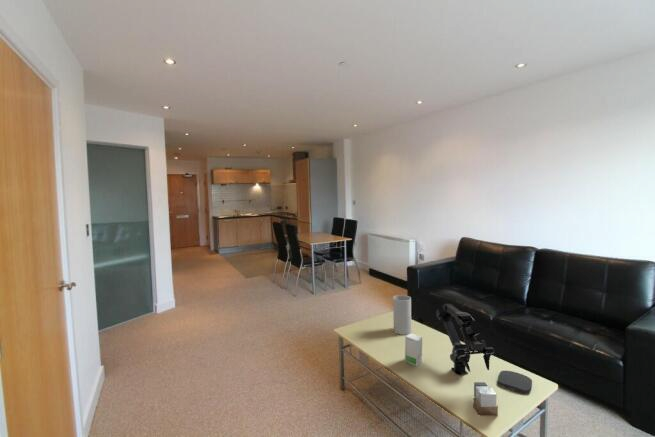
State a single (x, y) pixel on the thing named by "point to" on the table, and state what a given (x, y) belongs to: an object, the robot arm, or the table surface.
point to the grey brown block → (485, 401)
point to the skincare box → (413, 349)
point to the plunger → (478, 385)
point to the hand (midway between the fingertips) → (479, 370)
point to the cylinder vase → (402, 314)
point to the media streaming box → (515, 381)
